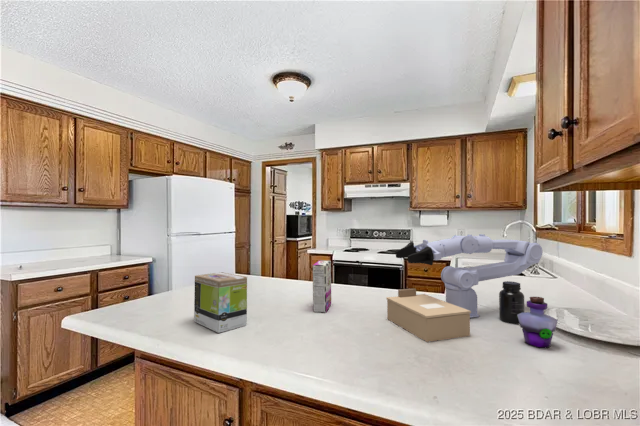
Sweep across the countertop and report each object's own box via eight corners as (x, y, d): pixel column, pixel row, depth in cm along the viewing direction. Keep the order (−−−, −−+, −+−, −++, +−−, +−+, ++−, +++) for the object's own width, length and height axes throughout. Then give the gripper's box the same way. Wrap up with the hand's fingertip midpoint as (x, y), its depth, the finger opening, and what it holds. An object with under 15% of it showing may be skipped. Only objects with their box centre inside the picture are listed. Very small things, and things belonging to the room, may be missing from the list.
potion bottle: (540, 353, 76) (539, 302, 76) (509, 339, 84) (509, 294, 84) (567, 349, 78) (566, 300, 78) (535, 336, 86) (534, 292, 86)
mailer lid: (424, 295, 106) (424, 287, 106) (470, 313, 87) (470, 302, 87) (386, 299, 102) (386, 290, 102) (426, 318, 82) (426, 307, 82)
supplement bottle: (494, 317, 102) (494, 280, 103) (514, 317, 103) (514, 280, 103) (508, 324, 96) (508, 285, 96) (530, 324, 96) (529, 284, 96)
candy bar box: (318, 303, 120) (318, 260, 120) (331, 304, 118) (331, 260, 119) (311, 312, 109) (311, 264, 109) (326, 313, 108) (326, 264, 108)
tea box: (248, 325, 95) (248, 276, 96) (217, 334, 88) (217, 281, 88) (222, 315, 106) (222, 270, 106) (192, 322, 98) (193, 274, 99)
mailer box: (424, 314, 106) (424, 296, 106) (470, 335, 87) (469, 313, 87) (387, 318, 101) (387, 300, 101) (426, 342, 82) (426, 318, 82)
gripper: (425, 234, 110) (390, 241, 107) (452, 240, 96) (412, 248, 93) (427, 254, 111) (392, 261, 108) (454, 263, 97) (415, 271, 94)
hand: (401, 257), depth 101 cm, fingers open, 7 cm apart
